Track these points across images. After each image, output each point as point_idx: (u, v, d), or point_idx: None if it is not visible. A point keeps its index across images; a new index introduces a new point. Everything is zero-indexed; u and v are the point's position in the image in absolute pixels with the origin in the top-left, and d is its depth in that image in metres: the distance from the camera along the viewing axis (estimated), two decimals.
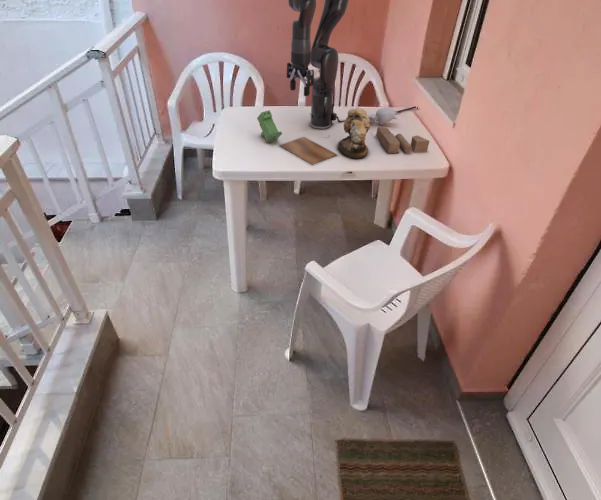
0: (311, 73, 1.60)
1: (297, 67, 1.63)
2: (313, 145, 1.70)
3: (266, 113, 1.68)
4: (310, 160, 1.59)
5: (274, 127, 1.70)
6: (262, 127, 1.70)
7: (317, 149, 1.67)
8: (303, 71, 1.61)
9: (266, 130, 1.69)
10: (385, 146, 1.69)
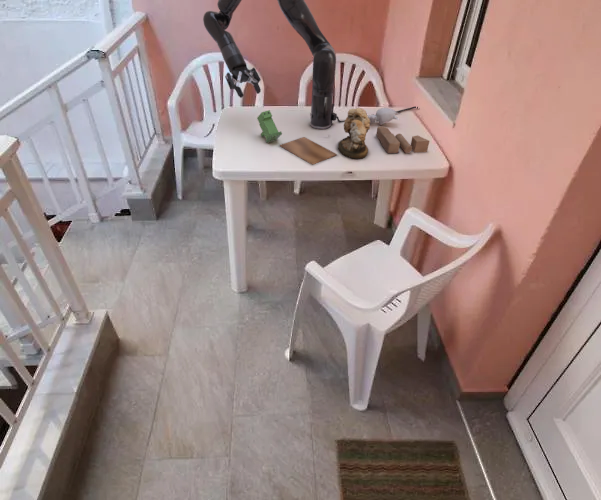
0: (226, 77, 1.67)
1: None
2: (313, 145, 1.70)
3: (266, 113, 1.68)
4: (310, 160, 1.59)
5: (274, 127, 1.70)
6: (262, 127, 1.70)
7: (317, 149, 1.67)
8: None
9: (266, 130, 1.69)
10: (385, 146, 1.69)
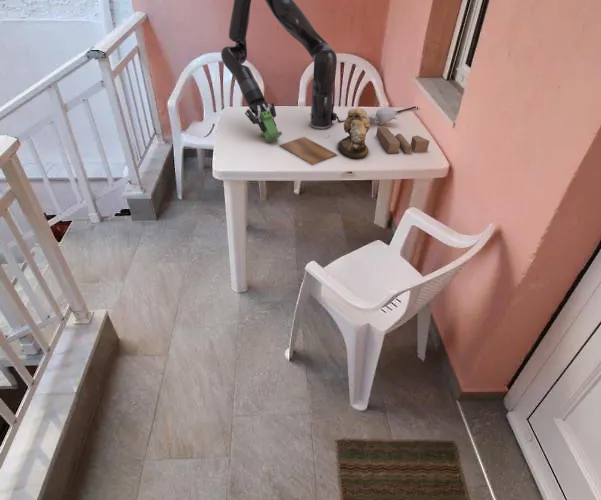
0: (247, 114, 1.67)
1: None
2: (313, 145, 1.70)
3: (266, 113, 1.68)
4: (310, 160, 1.59)
5: (274, 127, 1.70)
6: None
7: (317, 149, 1.67)
8: None
9: (266, 130, 1.69)
10: (385, 146, 1.69)
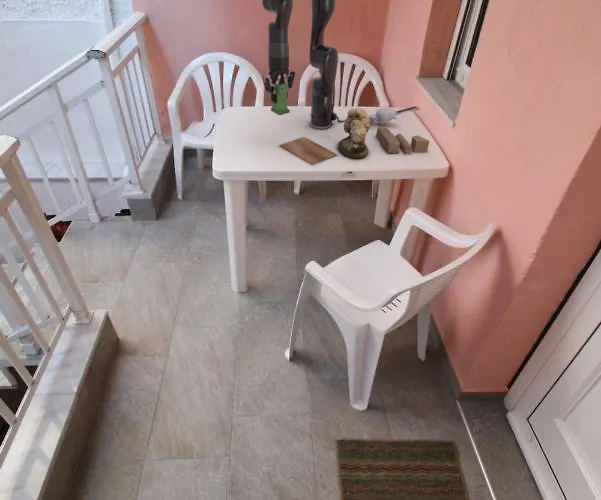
0: (264, 80, 1.51)
1: None
2: (313, 145, 1.70)
3: (284, 88, 1.54)
4: (310, 160, 1.59)
5: (285, 102, 1.59)
6: None
7: (317, 149, 1.67)
8: None
9: (276, 103, 1.58)
10: (385, 146, 1.69)
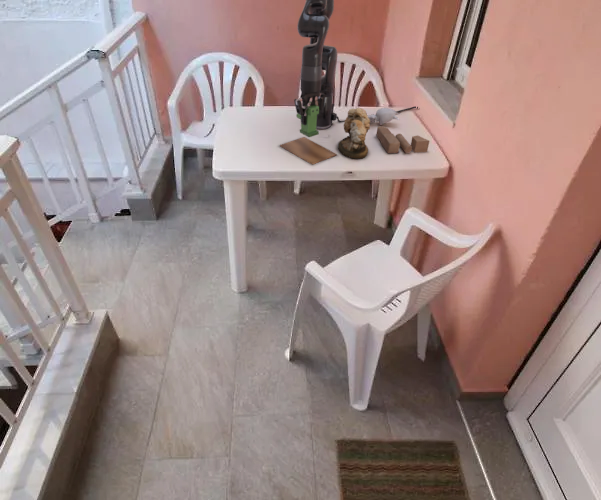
0: (296, 103, 1.51)
1: None
2: (313, 145, 1.70)
3: (315, 110, 1.54)
4: (310, 160, 1.59)
5: (314, 124, 1.59)
6: None
7: (317, 149, 1.67)
8: None
9: (305, 125, 1.58)
10: (385, 146, 1.69)
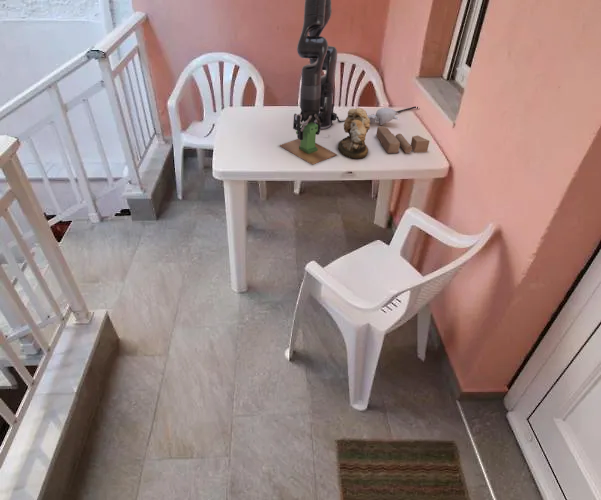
0: (295, 117, 1.54)
1: None
2: None
3: (314, 128, 1.59)
4: (310, 160, 1.59)
5: (313, 141, 1.64)
6: None
7: None
8: None
9: (305, 142, 1.63)
10: (385, 146, 1.69)
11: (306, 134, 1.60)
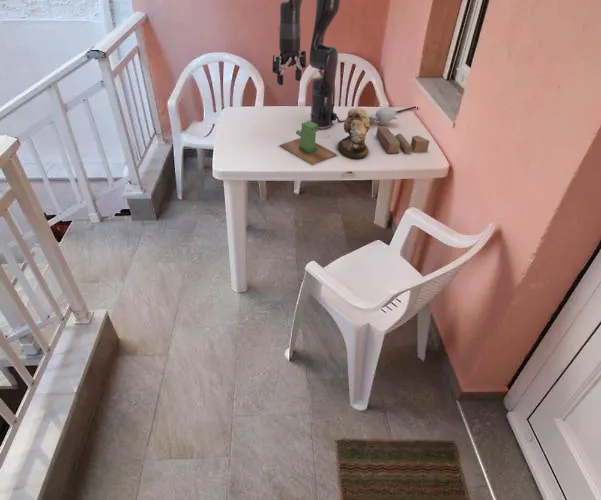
0: (274, 59, 1.47)
1: None
2: None
3: (314, 128, 1.59)
4: (310, 160, 1.59)
5: (313, 141, 1.64)
6: (302, 135, 1.62)
7: None
8: None
9: (305, 142, 1.63)
10: (385, 146, 1.69)
11: (306, 134, 1.60)
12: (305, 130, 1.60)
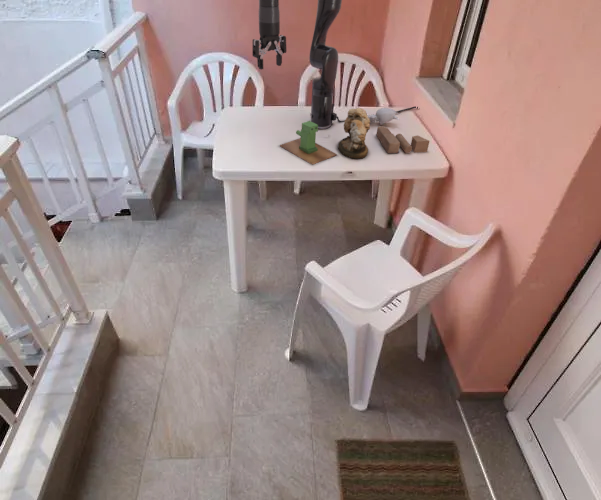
0: (254, 43, 1.50)
1: None
2: None
3: (314, 128, 1.59)
4: (310, 160, 1.59)
5: (313, 141, 1.64)
6: (302, 135, 1.62)
7: None
8: None
9: (305, 142, 1.63)
10: (385, 146, 1.69)
11: (306, 134, 1.60)
12: (305, 130, 1.60)
